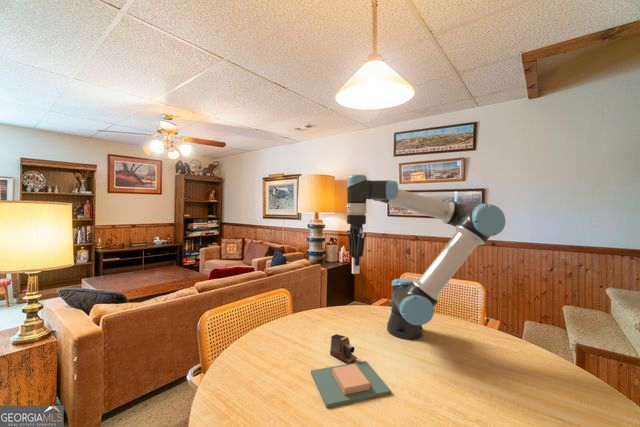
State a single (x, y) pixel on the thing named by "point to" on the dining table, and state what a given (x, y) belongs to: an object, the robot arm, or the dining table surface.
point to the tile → (350, 379)
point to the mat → (333, 392)
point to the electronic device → (342, 348)
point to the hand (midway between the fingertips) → (355, 273)
